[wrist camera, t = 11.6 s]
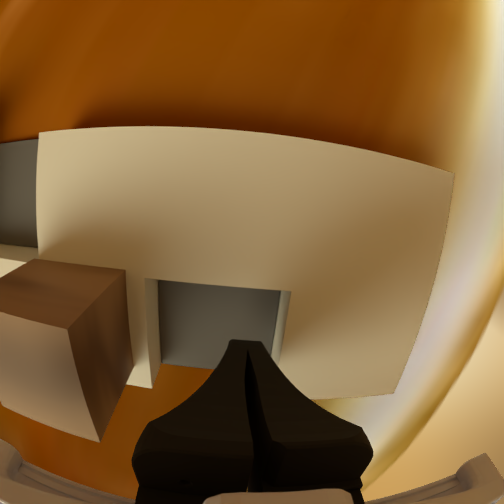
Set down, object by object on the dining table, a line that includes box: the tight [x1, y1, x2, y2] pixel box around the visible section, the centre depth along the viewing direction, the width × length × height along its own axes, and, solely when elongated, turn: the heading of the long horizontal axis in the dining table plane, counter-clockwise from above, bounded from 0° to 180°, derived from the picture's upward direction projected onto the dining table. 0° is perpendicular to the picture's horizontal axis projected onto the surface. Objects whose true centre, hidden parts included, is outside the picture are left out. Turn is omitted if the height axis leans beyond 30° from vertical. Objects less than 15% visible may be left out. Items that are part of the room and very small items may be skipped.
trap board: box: [0, 126, 455, 399], centre depth 12 cm, size 14×31×5 cm, turn 84°
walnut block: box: [0, 258, 134, 442], centre depth 10 cm, size 5×5×5 cm
